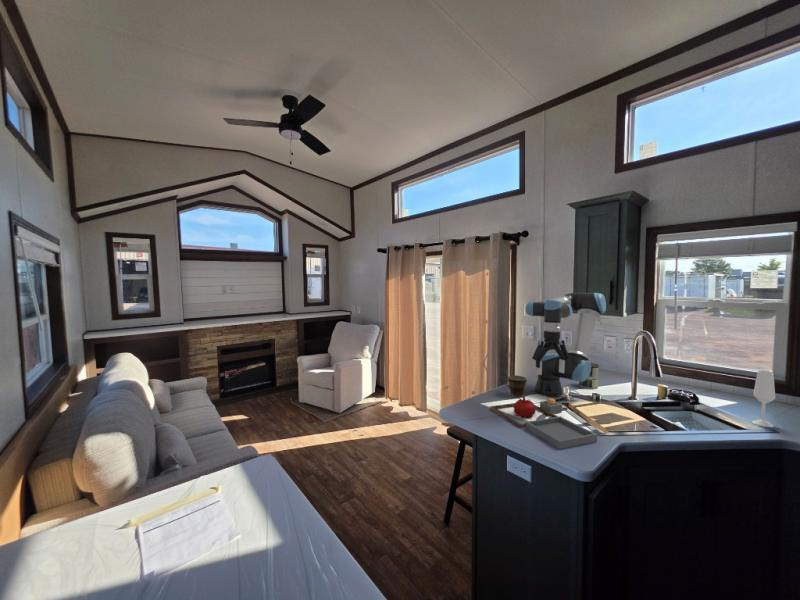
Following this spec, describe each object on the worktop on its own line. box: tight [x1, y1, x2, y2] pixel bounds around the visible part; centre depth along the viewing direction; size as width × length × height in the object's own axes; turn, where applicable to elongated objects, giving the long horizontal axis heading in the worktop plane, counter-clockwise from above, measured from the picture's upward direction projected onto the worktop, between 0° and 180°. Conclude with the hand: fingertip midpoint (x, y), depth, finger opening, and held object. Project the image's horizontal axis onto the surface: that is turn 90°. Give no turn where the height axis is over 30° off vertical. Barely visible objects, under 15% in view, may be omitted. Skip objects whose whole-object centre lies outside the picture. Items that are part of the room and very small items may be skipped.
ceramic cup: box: [504, 375, 527, 398], centre depth 186 cm, size 13×10×10 cm
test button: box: [546, 397, 556, 405], centre depth 164 cm, size 4×4×4 cm
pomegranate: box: [513, 395, 537, 419], centre depth 158 cm, size 10×10×9 cm
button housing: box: [539, 400, 563, 415], centre depth 164 cm, size 7×7×4 cm
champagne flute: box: [751, 369, 776, 428], centre depth 149 cm, size 7×7×24 cm
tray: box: [525, 416, 598, 450], centre depth 138 cm, size 19×19×3 cm
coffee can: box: [578, 362, 600, 390], centre depth 203 cm, size 10×10×14 cm
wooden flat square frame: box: [489, 402, 559, 429], centre depth 159 cm, size 23×23×2 cm
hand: (550, 373), depth 163 cm, fingers open, 13 cm apart
